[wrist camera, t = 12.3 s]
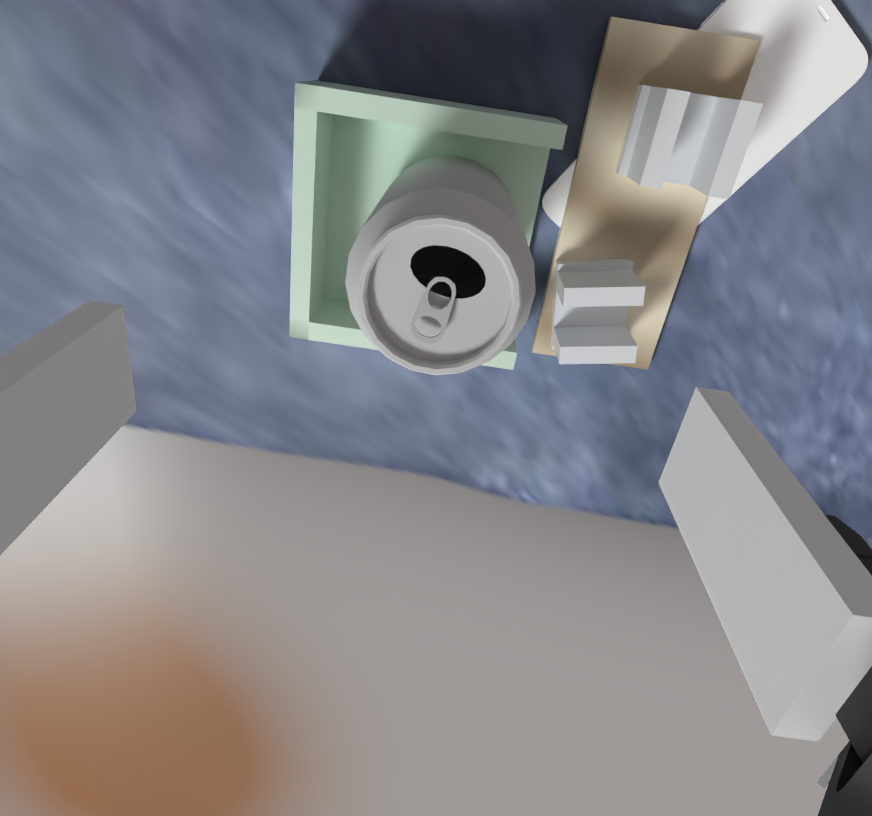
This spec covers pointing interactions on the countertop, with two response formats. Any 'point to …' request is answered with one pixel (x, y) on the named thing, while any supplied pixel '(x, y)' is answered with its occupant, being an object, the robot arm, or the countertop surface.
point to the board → (622, 197)
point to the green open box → (388, 182)
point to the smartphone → (773, 77)
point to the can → (442, 268)
